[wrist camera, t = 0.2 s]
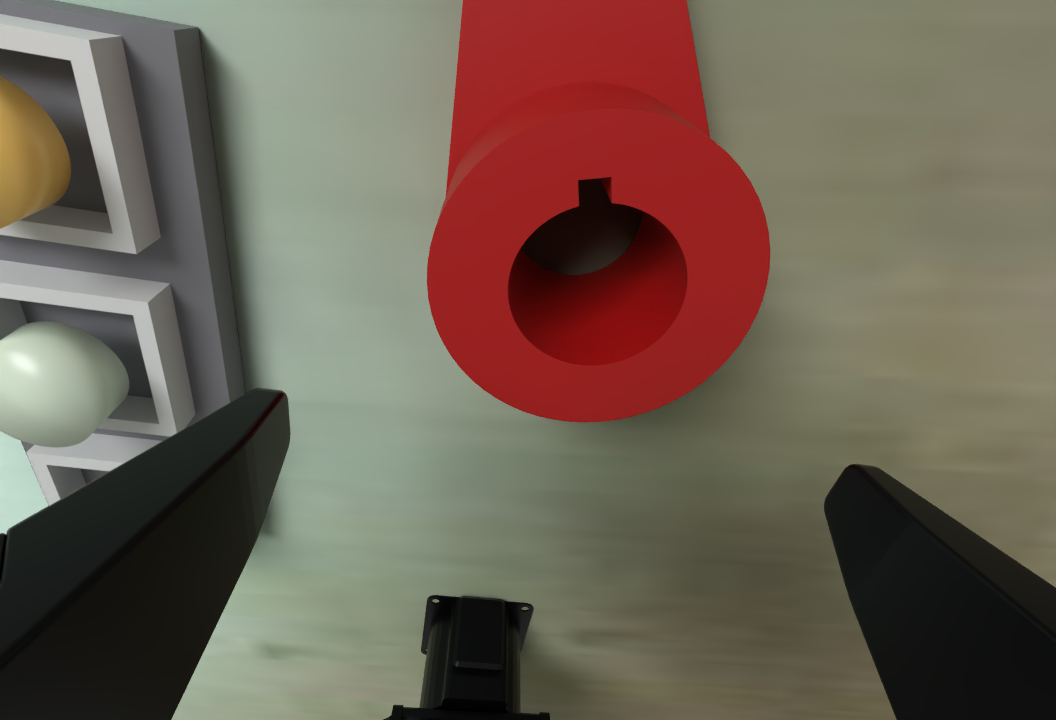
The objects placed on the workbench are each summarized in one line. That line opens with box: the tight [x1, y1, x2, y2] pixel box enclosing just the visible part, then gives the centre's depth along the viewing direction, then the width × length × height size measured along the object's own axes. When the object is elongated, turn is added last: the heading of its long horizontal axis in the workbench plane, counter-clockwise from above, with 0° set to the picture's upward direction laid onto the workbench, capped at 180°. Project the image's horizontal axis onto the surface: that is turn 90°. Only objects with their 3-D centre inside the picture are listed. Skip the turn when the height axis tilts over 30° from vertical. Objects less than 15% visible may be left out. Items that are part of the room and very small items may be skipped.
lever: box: [427, 0, 770, 422], centre depth 16 cm, size 18×9×7 cm, turn 5°
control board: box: [0, 0, 246, 505], centre depth 22 cm, size 23×9×3 cm, turn 170°
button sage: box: [0, 321, 129, 448], centre depth 20 cm, size 4×4×2 cm
